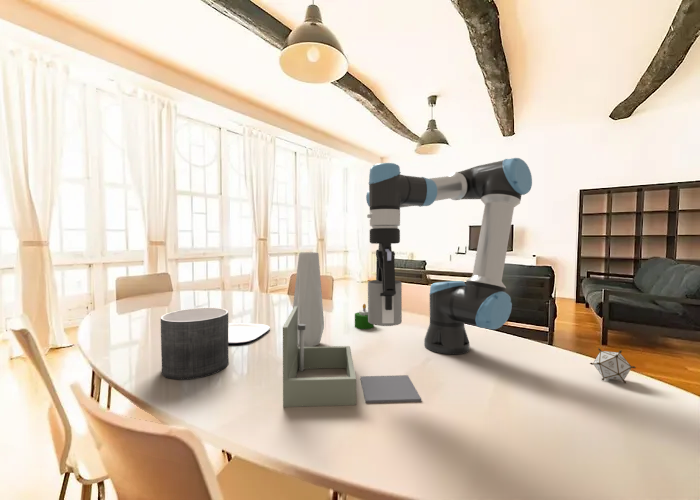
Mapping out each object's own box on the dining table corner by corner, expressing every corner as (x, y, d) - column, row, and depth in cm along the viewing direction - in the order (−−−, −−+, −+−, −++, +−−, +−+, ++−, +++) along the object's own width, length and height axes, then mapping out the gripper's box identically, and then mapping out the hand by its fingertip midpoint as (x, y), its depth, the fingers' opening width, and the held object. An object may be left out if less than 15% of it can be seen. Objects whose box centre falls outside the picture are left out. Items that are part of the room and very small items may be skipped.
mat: (407, 377, 87) (407, 375, 87) (421, 401, 74) (421, 398, 74) (360, 378, 86) (360, 376, 86) (365, 403, 73) (365, 400, 73)
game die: (613, 391, 87) (632, 361, 88) (628, 393, 80) (649, 360, 80) (578, 369, 91) (597, 340, 92) (589, 369, 83) (609, 338, 84)
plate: (220, 325, 140) (220, 322, 140) (275, 328, 137) (275, 324, 137) (182, 344, 115) (182, 339, 115) (249, 348, 112) (248, 343, 112)
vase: (332, 345, 113) (332, 252, 112) (302, 352, 106) (302, 253, 105) (316, 337, 123) (316, 251, 122) (288, 342, 117) (287, 252, 115)
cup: (400, 326, 75) (400, 284, 75) (365, 325, 77) (365, 283, 76) (402, 318, 83) (402, 280, 83) (371, 316, 85) (370, 279, 85)
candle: (353, 328, 135) (353, 305, 134) (356, 323, 143) (356, 301, 142) (372, 329, 133) (373, 306, 133) (374, 324, 141) (374, 302, 141)
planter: (241, 361, 98) (241, 310, 98) (191, 385, 82) (190, 324, 82) (200, 352, 106) (200, 305, 105) (147, 373, 90) (146, 317, 89)
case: (350, 366, 95) (350, 305, 94) (355, 404, 72) (356, 326, 72) (294, 367, 94) (294, 306, 93) (283, 407, 71) (282, 327, 71)
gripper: (365, 228, 90) (366, 309, 90) (374, 226, 68) (375, 330, 69) (392, 228, 90) (392, 308, 91) (409, 225, 69) (409, 329, 70)
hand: (385, 318), depth 80 cm, fingers closed on cup, 8 cm apart
